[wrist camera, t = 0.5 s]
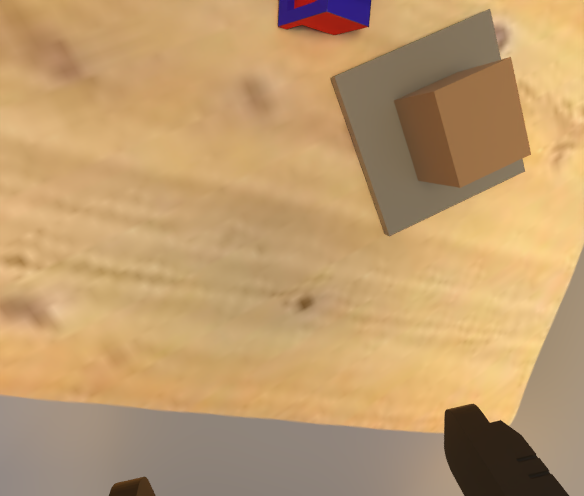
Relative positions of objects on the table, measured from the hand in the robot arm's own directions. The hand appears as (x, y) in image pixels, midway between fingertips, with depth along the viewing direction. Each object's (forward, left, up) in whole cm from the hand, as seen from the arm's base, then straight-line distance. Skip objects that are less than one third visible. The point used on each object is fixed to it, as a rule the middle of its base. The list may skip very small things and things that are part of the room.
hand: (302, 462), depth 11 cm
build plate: (-2, +20, -24) cm, 31 cm away
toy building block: (-14, +14, -25) cm, 31 cm away
